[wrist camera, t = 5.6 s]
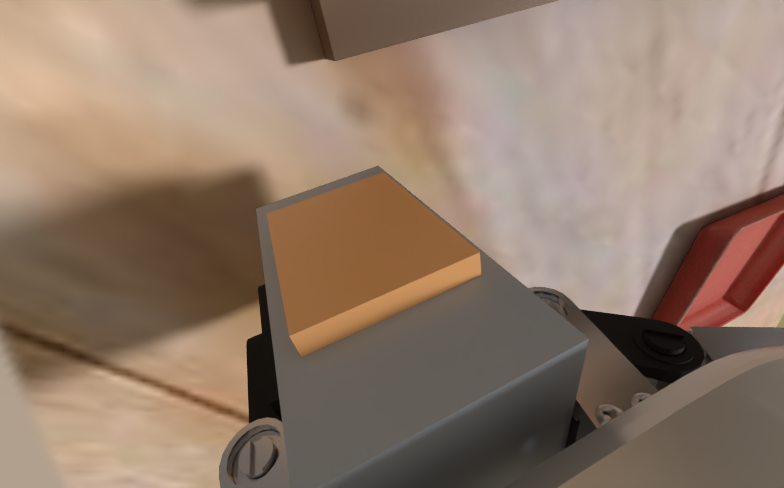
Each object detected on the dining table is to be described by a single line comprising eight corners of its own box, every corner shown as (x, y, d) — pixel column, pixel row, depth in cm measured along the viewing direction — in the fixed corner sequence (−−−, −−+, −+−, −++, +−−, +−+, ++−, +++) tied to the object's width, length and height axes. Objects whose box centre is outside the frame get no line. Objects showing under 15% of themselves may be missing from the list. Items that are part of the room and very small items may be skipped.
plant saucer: (719, 297, 45) (749, 313, 42) (625, 346, 39) (654, 367, 37) (803, 171, 35) (849, 182, 32) (693, 212, 29) (738, 230, 27)
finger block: (320, 337, 13) (398, 605, 7) (248, 193, 10) (272, 483, 3) (409, 297, 14) (552, 503, 8) (374, 151, 10) (595, 312, 4)
